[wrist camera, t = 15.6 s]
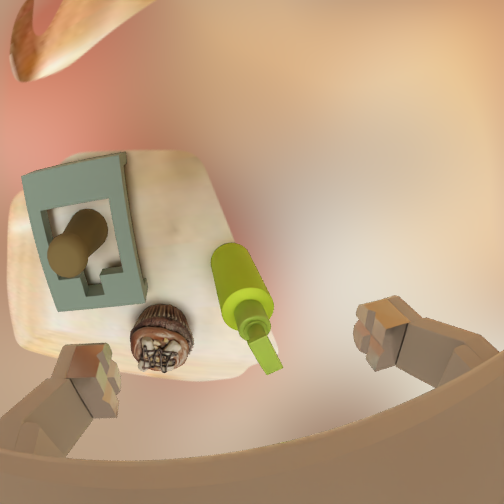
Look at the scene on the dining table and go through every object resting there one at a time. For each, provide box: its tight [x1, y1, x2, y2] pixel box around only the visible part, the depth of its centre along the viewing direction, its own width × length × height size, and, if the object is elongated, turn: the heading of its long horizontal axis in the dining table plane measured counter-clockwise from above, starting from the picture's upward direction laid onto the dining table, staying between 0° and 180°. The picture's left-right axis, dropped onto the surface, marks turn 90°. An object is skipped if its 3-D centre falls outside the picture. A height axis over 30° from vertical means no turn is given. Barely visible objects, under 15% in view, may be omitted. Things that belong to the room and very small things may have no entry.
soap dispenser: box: [211, 243, 283, 375], centre depth 37 cm, size 6×7×20 cm
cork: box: [47, 209, 108, 278], centre depth 35 cm, size 6×6×11 cm
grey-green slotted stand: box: [21, 152, 148, 312], centre depth 38 cm, size 20×14×4 cm
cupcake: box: [130, 304, 194, 373], centre depth 44 cm, size 10×10×10 cm
